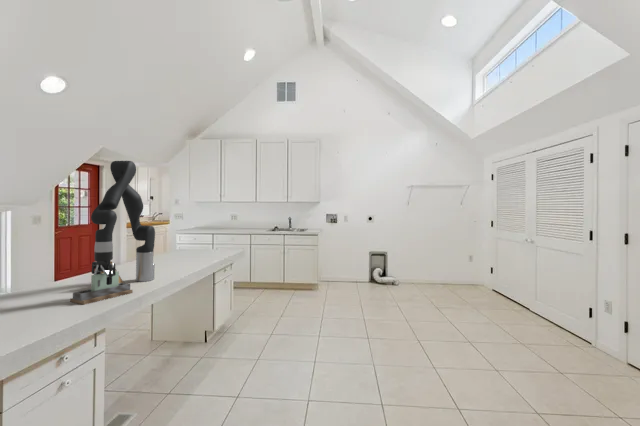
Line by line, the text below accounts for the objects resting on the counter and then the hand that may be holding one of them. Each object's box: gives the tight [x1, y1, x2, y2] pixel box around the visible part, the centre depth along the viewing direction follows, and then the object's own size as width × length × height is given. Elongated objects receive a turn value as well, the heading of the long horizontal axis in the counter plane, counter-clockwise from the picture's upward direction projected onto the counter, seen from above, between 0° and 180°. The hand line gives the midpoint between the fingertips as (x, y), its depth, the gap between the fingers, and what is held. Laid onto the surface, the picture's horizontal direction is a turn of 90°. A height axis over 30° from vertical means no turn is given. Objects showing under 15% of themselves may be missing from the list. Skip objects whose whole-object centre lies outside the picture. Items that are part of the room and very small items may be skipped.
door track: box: [69, 282, 133, 305], centre depth 163 cm, size 24×10×4 cm, turn 157°
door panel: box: [90, 271, 120, 292], centre depth 164 cm, size 12×3×10 cm, turn 157°
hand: (103, 283), depth 163 cm, fingers open, 8 cm apart
